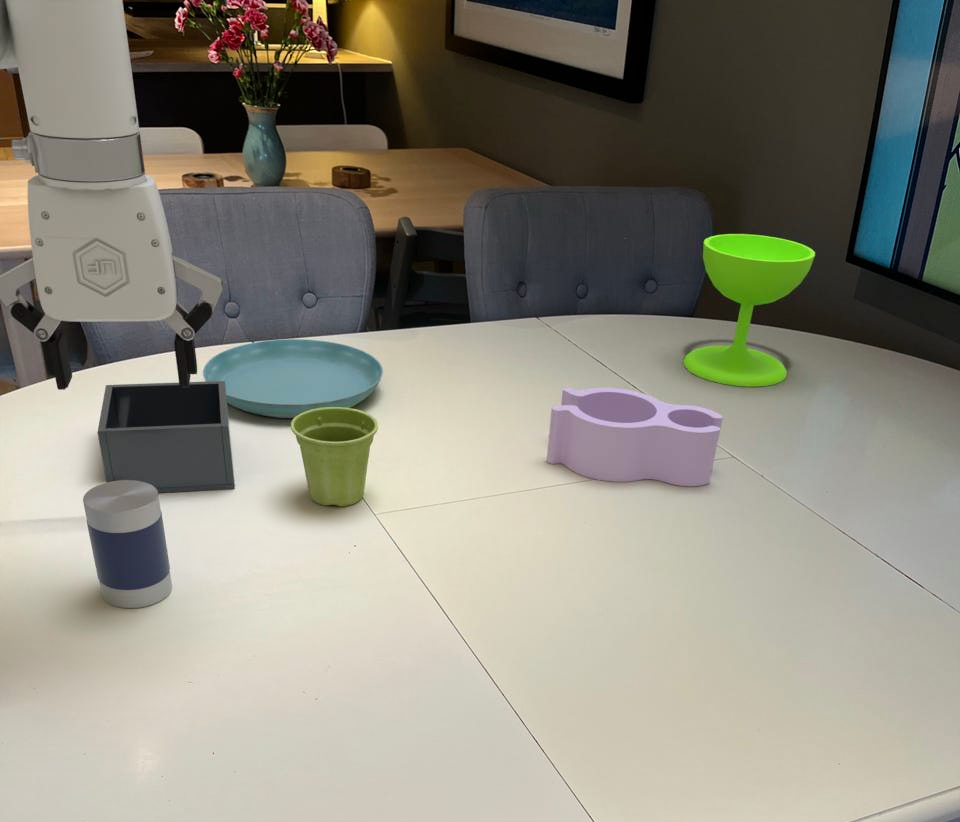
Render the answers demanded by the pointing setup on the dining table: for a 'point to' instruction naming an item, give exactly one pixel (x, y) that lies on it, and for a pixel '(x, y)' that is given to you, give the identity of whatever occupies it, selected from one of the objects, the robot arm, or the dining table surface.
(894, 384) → the dining table surface
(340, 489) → the plant pot
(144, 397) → the open box
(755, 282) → the wineglass
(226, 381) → the teal plate
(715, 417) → the clip
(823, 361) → the dining table surface
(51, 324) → the robot arm
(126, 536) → the tin can
